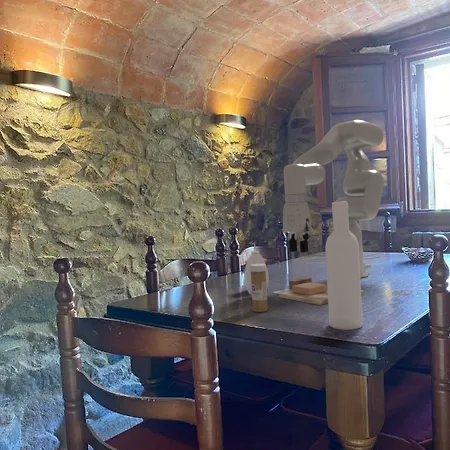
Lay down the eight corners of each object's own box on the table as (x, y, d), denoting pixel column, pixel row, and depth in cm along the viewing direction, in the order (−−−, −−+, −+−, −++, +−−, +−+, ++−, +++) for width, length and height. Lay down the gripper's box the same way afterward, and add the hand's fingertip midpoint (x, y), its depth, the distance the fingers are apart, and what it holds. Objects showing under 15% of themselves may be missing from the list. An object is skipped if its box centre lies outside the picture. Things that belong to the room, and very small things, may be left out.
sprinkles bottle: (249, 311, 130) (246, 265, 129) (258, 308, 133) (255, 262, 133) (262, 313, 127) (259, 265, 126) (271, 309, 130) (268, 263, 130)
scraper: (304, 286, 163) (303, 277, 163) (314, 288, 159) (313, 278, 159) (272, 293, 155) (271, 283, 155) (282, 295, 151) (281, 284, 151)
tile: (309, 282, 152) (291, 285, 148) (327, 284, 146) (309, 288, 141) (309, 288, 152) (292, 292, 148) (327, 291, 146) (309, 295, 141)
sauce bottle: (253, 301, 143) (250, 244, 143) (241, 297, 150) (238, 243, 150) (274, 297, 147) (271, 242, 146) (261, 294, 154) (258, 241, 153)
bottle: (353, 331, 104) (347, 201, 103) (323, 327, 109) (316, 203, 108) (368, 323, 110) (362, 200, 108) (338, 319, 115) (332, 202, 114)
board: (322, 287, 159) (322, 284, 159) (364, 294, 144) (363, 290, 144) (279, 297, 147) (279, 293, 147) (319, 305, 133) (319, 301, 133)
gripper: (272, 201, 163) (274, 251, 163) (305, 199, 149) (308, 254, 149) (287, 200, 167) (290, 249, 168) (321, 198, 153) (324, 251, 154)
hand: (298, 251), depth 158 cm, fingers open, 4 cm apart
